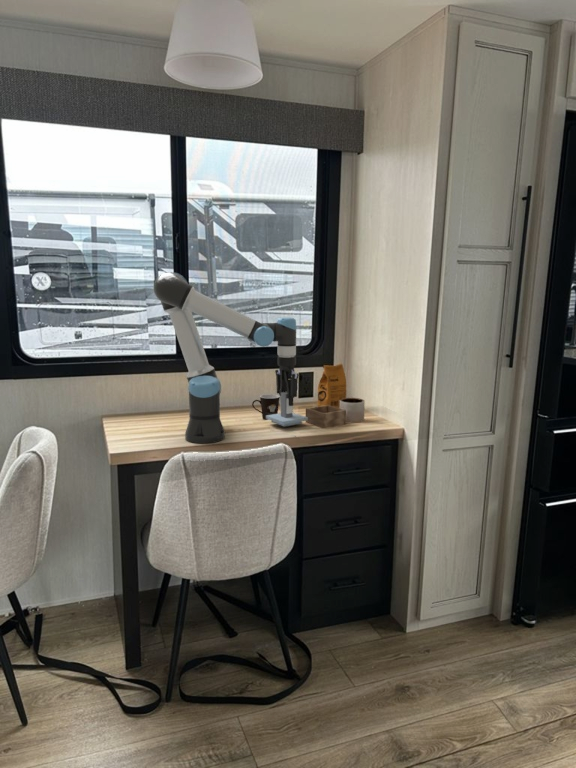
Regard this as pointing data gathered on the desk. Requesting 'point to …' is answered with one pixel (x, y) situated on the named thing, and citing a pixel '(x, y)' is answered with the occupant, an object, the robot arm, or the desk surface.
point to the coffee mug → (268, 404)
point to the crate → (326, 416)
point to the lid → (286, 415)
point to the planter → (353, 409)
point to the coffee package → (332, 386)
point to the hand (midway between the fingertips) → (286, 412)
